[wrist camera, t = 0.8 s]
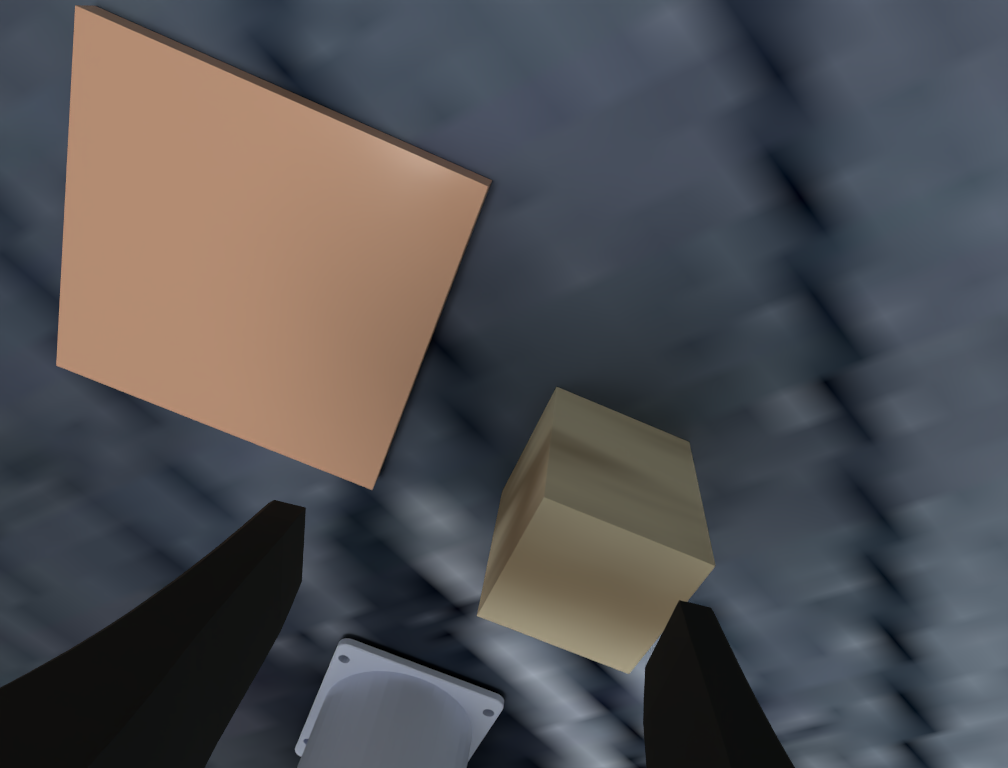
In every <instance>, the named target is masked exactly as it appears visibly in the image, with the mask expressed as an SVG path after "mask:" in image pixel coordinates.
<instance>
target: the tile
mask: <svg viewBox="0 0 1008 768" xmlns="http://www.w3.org/2000/svg"><path fill="white" fill-rule="evenodd" d="M491 182H492V180H490V179H488V178H486V177H483V176H481V175H479V174H476V173H474V172H472V171H470V170H467V169H465V168H463V167H461V166H458V165H456V164H454V163H451V162H449V161H447V160H445V159H442V158H440V157H438V156H435V155H433V154H431V153H429V152H426V151H424V150H422V149H420V148H417V147H415V146H413V145H410V144H408V143H406V142H404V141H401V140H399V139H397V138H395V137H392V136H390V135H388V134H385V133H383V132H381V131H379V130H376V129H374V128H372V127H370V126H367V125H365V124H363V123H360V122H358V121H356V120H354V119H351V118H349V117H347V116H344V115H342V114H340V113H338V112H335V111H333V110H331V109H329V108H326V107H324V106H322V105H319V104H317V103H315V102H313V101H310V100H308V99H306V98H304V97H301V96H299V95H297V94H294V93H292V92H290V91H288V90H285V89H283V88H281V87H279V86H276V85H274V84H272V83H269V82H267V81H265V80H263V79H260V78H258V77H256V76H254V75H251V74H249V73H247V72H244V71H242V70H240V69H238V68H235V67H233V66H231V65H228V64H226V63H224V62H222V61H219V60H217V59H215V58H213V57H210V56H208V55H206V54H203V53H201V52H199V51H197V50H194V49H192V48H190V47H188V46H185V45H183V44H181V43H178V42H176V41H174V40H172V39H169V38H167V37H165V36H163V35H160V34H158V33H156V32H153V31H151V30H149V29H147V28H144V27H142V26H140V25H137V24H135V23H133V22H131V21H128V20H126V19H124V18H122V17H119V16H117V15H115V14H112V13H110V12H108V11H106V10H103V9H101V8H99V7H97V6H81V5H75V21H74V40H73V59H72V78H71V97H70V117H69V136H68V155H67V174H66V193H65V212H64V231H63V250H62V269H61V288H60V307H59V326H58V345H57V364H56V365H57V366H59V367H62V368H64V369H67V370H69V371H72V372H74V373H77V374H79V375H82V376H84V377H87V378H90V379H92V380H95V381H97V382H100V383H102V384H105V385H107V386H110V387H112V388H115V389H117V390H120V391H122V392H125V393H128V394H130V395H133V396H135V397H138V398H140V399H143V400H145V401H148V402H150V403H153V404H155V405H158V406H161V407H163V408H166V409H168V410H171V411H173V412H176V413H178V414H181V415H183V416H186V417H188V418H191V419H193V420H196V421H199V422H201V423H204V424H206V425H209V426H211V427H214V428H216V429H219V430H221V431H224V432H226V433H229V434H232V435H234V436H237V437H239V438H242V439H244V440H247V441H249V442H252V443H254V444H257V445H259V446H262V447H264V448H267V449H270V450H272V451H275V452H277V453H280V454H282V455H285V456H287V457H290V458H292V459H295V460H297V461H300V462H303V463H305V464H308V465H310V466H313V467H315V468H318V469H320V470H323V471H325V472H328V473H330V474H333V475H335V476H338V477H341V478H343V479H346V480H348V481H351V482H353V483H356V484H358V485H361V486H363V487H366V488H368V489H371V490H372V489H373V487H374V485H375V483H376V481H377V479H378V477H379V474H380V472H381V469H382V467H383V464H384V461H385V459H386V456H387V453H388V451H389V448H390V446H391V443H392V440H393V438H394V435H395V433H396V430H397V427H398V425H399V422H400V420H401V417H402V414H403V412H404V409H405V407H406V404H407V401H408V399H409V396H410V394H411V391H412V388H413V386H414V383H415V381H416V378H417V375H418V373H419V370H420V367H421V365H422V362H423V360H424V357H425V354H426V352H427V349H428V347H429V344H430V341H431V339H432V336H433V334H434V331H435V328H436V326H437V323H438V321H439V318H440V315H441V313H442V310H443V308H444V305H445V302H446V300H447V297H448V295H449V292H450V289H451V287H452V284H453V281H454V279H455V276H456V274H457V271H458V268H459V266H460V263H461V261H462V258H463V255H464V253H465V250H466V248H467V245H468V242H469V240H470V237H471V235H472V232H473V229H474V227H475V224H476V222H477V219H478V216H479V214H480V211H481V209H482V206H483V203H484V201H485V198H486V196H487V193H488V190H489V188H490V185H491Z"/></svg>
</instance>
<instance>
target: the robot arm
mask: <svg viewBox="0 0 1008 768" xmlns="http://www.w3.org/2000/svg"><path fill="white" fill-rule="evenodd" d="M305 511H306V508H305V507H301V506H297V505H293V504H288V503H284V502H280V501H276V500H274V501H272V502H270V503H268V504H267V505H266V506H265V507H264V508H262V509H261V510H260V511H259V512H258V513H257V514H256V515H254V516H253V517H252V518H251V519H250V520H249V521H248V522H246V523H245V524H244V525H243V526H242V527H240V528H239V529H238V530H237V531H236V532H235V533H233V534H232V535H231V536H230V537H229V538H227V539H226V540H225V541H224V542H222V543H221V544H220V545H219V546H218V547H216V548H215V549H214V550H213V551H211V552H210V553H209V554H208V555H206V556H205V557H204V558H202V559H201V560H200V561H199V562H197V563H196V564H195V565H193V566H192V567H191V568H190V569H188V570H187V571H186V572H184V573H183V574H182V575H180V576H179V577H178V578H176V579H175V580H174V581H172V582H171V583H170V584H168V585H167V586H165V587H164V588H163V589H161V590H160V591H158V592H157V593H156V594H154V595H153V596H151V597H150V598H148V599H147V600H146V601H144V602H143V603H141V604H140V605H139V606H137V607H136V608H134V609H133V610H131V611H130V612H128V613H127V614H125V615H124V616H122V617H121V618H119V619H118V620H116V621H115V622H113V623H112V624H110V625H109V626H107V627H105V628H104V629H102V630H101V631H99V632H98V633H96V634H94V635H93V636H91V637H89V638H88V639H86V640H84V641H83V642H81V643H80V644H78V645H76V646H75V647H73V648H71V649H70V650H68V651H66V652H64V653H63V654H61V655H59V656H57V657H55V658H54V659H52V660H50V661H48V662H47V663H45V664H43V665H41V666H40V667H38V668H36V669H34V670H32V671H31V672H29V673H27V674H25V675H23V676H21V677H20V678H18V679H16V680H14V681H12V682H10V683H8V684H6V685H4V686H3V687H1V688H0V768H204V767H205V766H206V764H207V762H208V760H209V758H210V756H211V754H212V752H213V750H214V748H215V746H216V744H217V742H218V741H219V739H220V737H221V735H222V734H223V732H224V730H225V728H226V727H227V725H228V723H229V721H230V720H231V718H232V716H233V714H234V713H235V711H236V709H237V707H238V706H239V704H240V702H241V700H242V699H243V697H244V695H245V693H246V692H247V690H248V688H249V686H250V685H251V683H252V681H253V679H254V678H255V676H256V674H257V672H258V671H259V669H260V667H261V665H262V663H263V662H264V660H265V658H266V656H267V655H268V653H269V651H270V649H271V647H272V646H273V644H274V642H275V640H276V638H277V637H278V635H279V633H280V631H281V629H282V627H283V624H284V622H285V620H286V617H287V615H288V613H289V611H290V608H291V606H292V603H293V601H294V599H295V596H296V594H297V592H298V589H299V587H300V584H301V582H302V566H303V548H304V529H305ZM503 707H504V699H503V697H502V696H501V695H499V694H497V693H495V692H492V691H489V690H487V689H484V688H481V687H479V686H476V685H473V684H471V683H468V682H465V681H463V680H460V679H457V678H455V677H452V676H449V675H447V674H444V673H441V672H439V671H436V670H433V669H431V668H428V667H425V666H423V665H420V664H417V663H415V662H412V661H409V660H407V659H404V658H401V657H399V656H396V655H393V654H391V653H388V652H385V651H383V650H380V649H377V648H375V647H372V646H369V645H367V644H364V643H361V642H359V641H356V640H353V639H350V638H344V639H342V640H340V641H339V643H338V645H337V648H336V650H335V653H334V655H333V658H332V660H331V662H330V665H329V667H328V670H327V672H326V674H325V677H324V679H323V682H322V684H321V687H320V689H319V691H318V694H317V696H316V699H315V701H314V704H313V706H312V708H311V711H310V713H309V716H308V718H307V721H306V723H305V725H304V728H303V730H302V733H301V735H300V738H299V740H298V742H297V745H296V747H295V752H296V753H297V754H298V755H299V756H301V759H300V762H299V764H298V767H297V768H467V763H468V761H469V760H470V758H471V757H472V755H473V754H474V752H475V750H476V749H477V747H478V746H479V744H480V743H481V741H482V740H483V738H484V737H485V735H486V734H487V732H488V731H489V729H490V728H491V726H492V725H493V723H494V722H495V720H496V719H497V717H498V716H499V714H500V713H501V711H502V710H503ZM643 725H644V739H645V752H646V765H647V768H795V767H794V765H793V764H792V762H791V760H790V759H789V757H788V755H787V754H786V752H785V750H784V748H783V747H782V745H781V743H780V741H779V740H778V738H777V736H776V734H775V732H774V731H773V729H772V727H771V725H770V723H769V721H768V719H767V718H766V716H765V714H764V712H763V710H762V708H761V706H760V705H759V703H758V701H757V699H756V697H755V695H754V693H753V691H752V689H751V687H750V685H749V683H748V682H747V680H746V678H745V676H744V674H743V672H742V669H741V667H740V665H739V663H738V661H737V659H736V657H735V655H734V653H733V651H732V649H731V647H730V645H729V643H728V641H727V639H726V637H725V635H724V633H723V630H722V628H721V626H720V624H719V622H718V620H717V618H716V616H715V614H714V612H713V610H712V609H711V608H710V607H705V606H701V605H697V604H693V603H689V602H685V601H681V600H679V601H678V603H677V605H676V607H675V609H674V611H673V613H672V615H671V617H670V619H669V621H668V623H667V625H666V627H665V629H664V631H663V633H662V635H661V637H660V639H659V641H658V643H657V645H656V647H655V649H654V651H653V653H652V655H651V657H650V659H649V661H648V663H647V665H646V667H645V686H644V716H643Z"/></svg>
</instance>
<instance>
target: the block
mask: <svg viewBox="0 0 1008 768" xmlns="http://www.w3.org/2000/svg"><path fill="white" fill-rule="evenodd" d="M714 567H715V561H714V557H713V552H712V547H711V542H710V538H709V533H708V528H707V524H706V519H705V514H704V509H703V505H702V500H701V495H700V490H699V486H698V481H697V476H696V471H695V467H694V462H693V457H692V453H691V448H690V443H689V442H688V441H686V440H683V439H681V438H678V437H676V436H674V435H671V434H669V433H666V432H664V431H662V430H659V429H657V428H654V427H652V426H650V425H647V424H645V423H642V422H640V421H638V420H635V419H633V418H631V417H628V416H626V415H623V414H621V413H619V412H616V411H614V410H611V409H609V408H607V407H604V406H602V405H599V404H597V403H595V402H592V401H590V400H587V399H585V398H583V397H580V396H578V395H575V394H573V393H571V392H568V391H566V390H563V389H561V388H559V387H556V389H555V391H554V393H553V394H552V396H551V398H550V400H549V402H548V404H547V406H546V408H545V410H544V412H543V414H542V416H541V418H540V420H539V421H538V423H537V425H536V427H535V429H534V431H533V433H532V435H531V437H530V439H529V441H528V443H527V445H526V447H525V449H524V450H523V452H522V454H521V456H520V458H519V460H518V462H517V464H516V466H515V468H514V470H513V472H512V474H511V476H510V478H509V479H508V481H507V483H506V485H505V487H504V489H503V491H502V495H501V500H500V505H499V510H498V515H497V520H496V524H495V529H494V534H493V539H492V544H491V549H490V554H489V559H488V564H487V569H486V574H485V579H484V584H483V589H482V594H481V598H480V603H479V608H478V613H477V616H479V617H481V618H484V619H486V620H489V621H492V622H494V623H497V624H500V625H502V626H505V627H507V628H510V629H513V630H515V631H518V632H520V633H523V634H526V635H528V636H531V637H534V638H536V639H539V640H541V641H544V642H547V643H549V644H552V645H554V646H557V647H560V648H562V649H565V650H567V651H570V652H573V653H575V654H578V655H581V656H583V657H586V658H588V659H591V660H594V661H596V662H599V663H601V664H604V665H607V666H609V667H612V668H615V669H617V670H620V671H622V672H625V673H628V674H630V672H631V671H632V670H633V669H634V667H635V666H636V665H637V664H638V662H639V661H640V660H641V659H642V657H643V656H644V655H645V654H646V652H647V651H648V650H649V649H650V647H651V646H652V645H653V644H654V642H655V641H656V640H657V639H658V637H659V636H660V635H661V634H662V632H663V631H664V629H665V627H666V625H667V623H668V621H669V619H670V617H671V615H672V613H673V611H674V609H675V607H676V605H677V603H678V601H679V600H681V601H685V602H687V601H688V600H689V599H690V597H691V596H692V595H693V594H694V592H695V591H696V590H697V589H698V587H699V586H700V585H701V583H702V582H703V581H704V580H705V578H706V577H707V576H708V575H709V573H710V572H711V571H712V570H713V568H714Z"/></svg>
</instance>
